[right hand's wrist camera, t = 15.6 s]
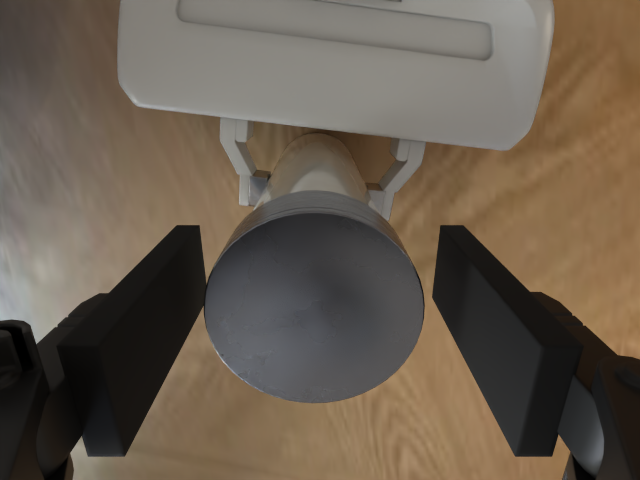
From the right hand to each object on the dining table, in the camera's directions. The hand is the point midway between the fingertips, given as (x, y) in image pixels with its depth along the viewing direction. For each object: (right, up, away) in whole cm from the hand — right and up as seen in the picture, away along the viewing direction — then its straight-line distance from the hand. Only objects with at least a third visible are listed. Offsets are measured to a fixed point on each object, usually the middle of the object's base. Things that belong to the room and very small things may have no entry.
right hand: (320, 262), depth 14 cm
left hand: (0, +2, +9) cm, 9 cm away
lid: (0, -1, -3) cm, 3 cm away
